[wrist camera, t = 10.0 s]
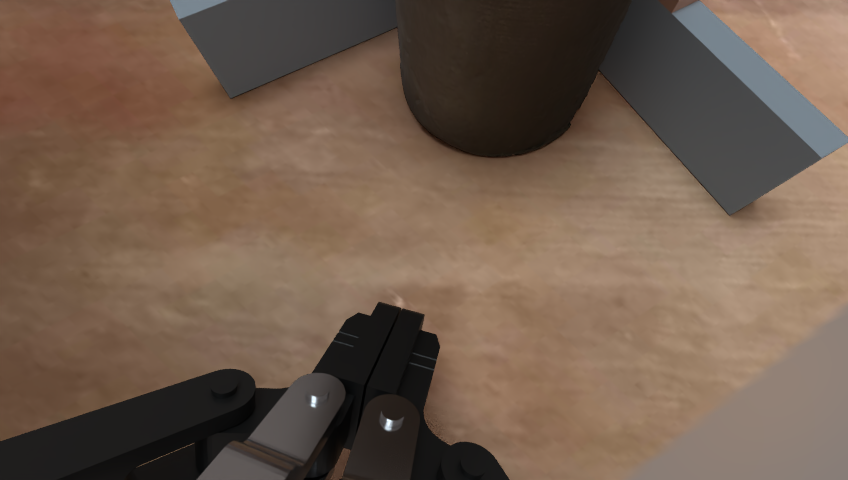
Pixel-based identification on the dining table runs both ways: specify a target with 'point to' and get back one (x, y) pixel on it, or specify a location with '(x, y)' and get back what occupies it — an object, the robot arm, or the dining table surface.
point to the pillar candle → (502, 67)
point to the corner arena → (623, 66)
